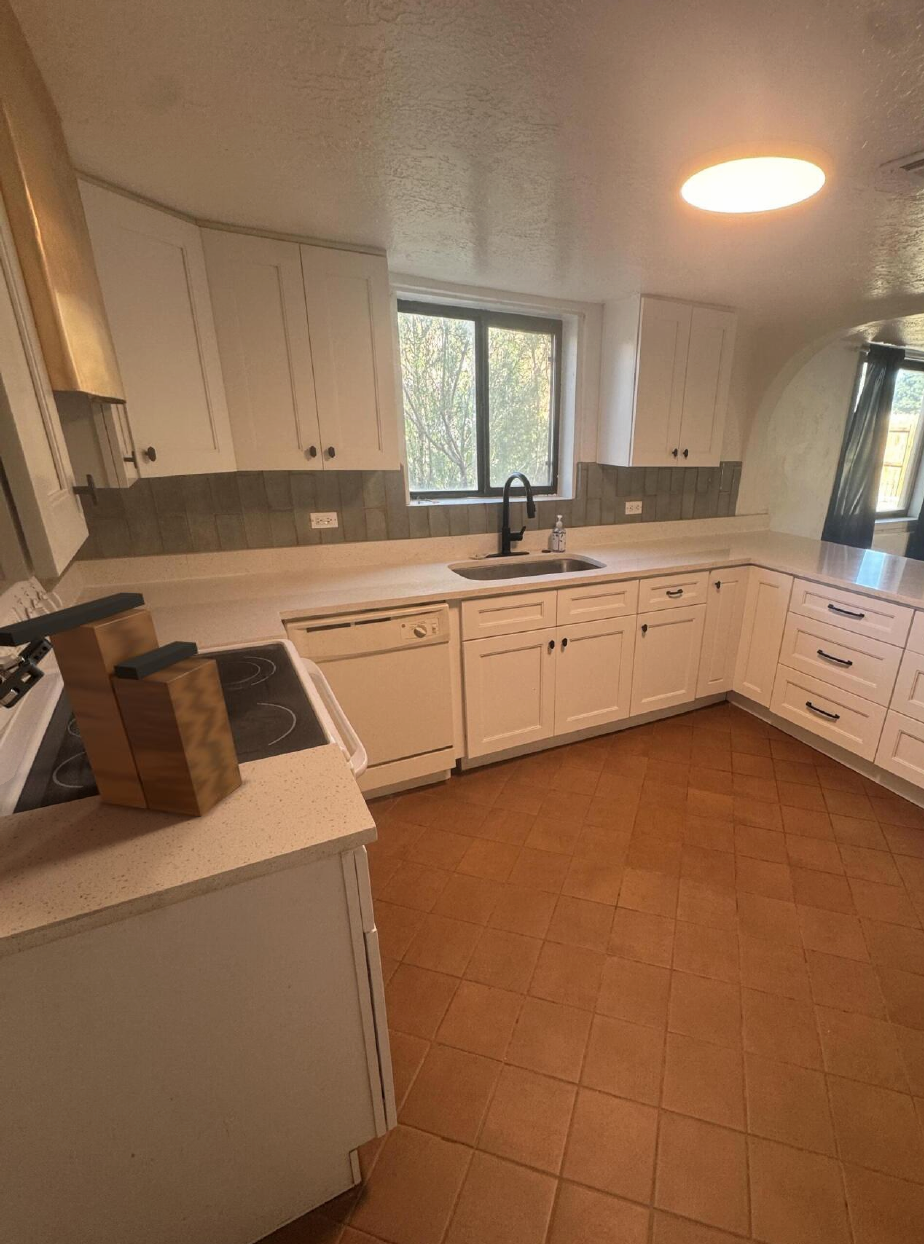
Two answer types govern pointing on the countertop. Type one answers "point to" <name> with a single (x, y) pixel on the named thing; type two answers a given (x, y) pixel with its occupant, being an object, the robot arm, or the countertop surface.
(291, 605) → the countertop surface
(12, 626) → the long pad
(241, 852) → the countertop surface
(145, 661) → the short pad
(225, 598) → the countertop surface
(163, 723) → the step stand
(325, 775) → the countertop surface
